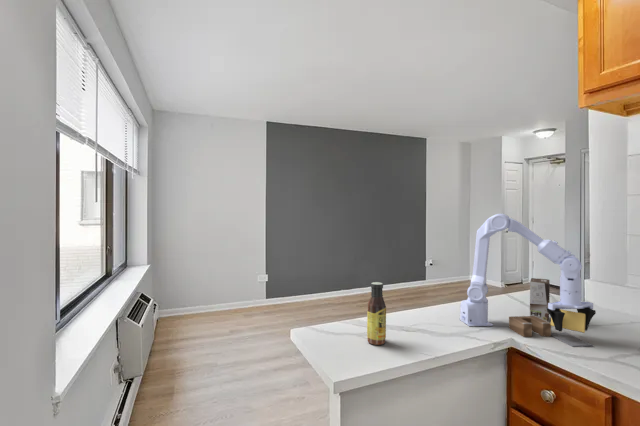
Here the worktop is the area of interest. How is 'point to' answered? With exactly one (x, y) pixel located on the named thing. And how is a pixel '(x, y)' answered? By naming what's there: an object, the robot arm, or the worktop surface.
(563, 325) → the yellow bar
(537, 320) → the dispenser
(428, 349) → the worktop surface
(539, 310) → the coffee box
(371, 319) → the sauce bottle
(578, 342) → the mat
